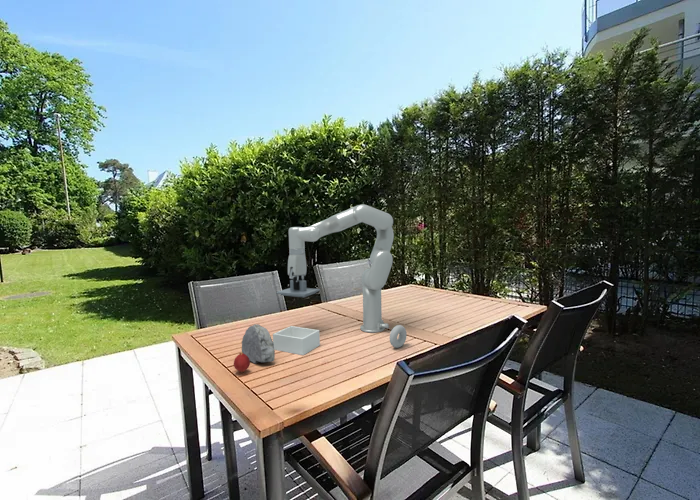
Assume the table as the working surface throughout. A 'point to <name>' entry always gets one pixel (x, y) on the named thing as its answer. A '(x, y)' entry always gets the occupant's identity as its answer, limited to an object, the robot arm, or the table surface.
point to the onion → (241, 362)
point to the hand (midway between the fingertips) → (298, 288)
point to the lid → (298, 293)
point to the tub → (296, 340)
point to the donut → (394, 334)
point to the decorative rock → (258, 344)
